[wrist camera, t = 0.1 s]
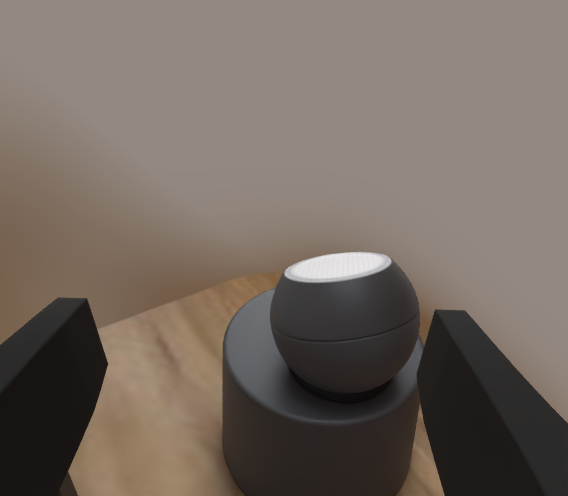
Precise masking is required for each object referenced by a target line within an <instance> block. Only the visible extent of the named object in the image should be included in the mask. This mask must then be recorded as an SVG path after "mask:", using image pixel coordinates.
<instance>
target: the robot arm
mask: <svg viewBox="0 0 568 496" xmlns="http://www.w3.org/2000/svg"><path fill="white" fill-rule="evenodd" d="M107 366H108V362H107V359H106V356H105V353H104V350H103V346H102V343H101V340H100V337H99V334H98V331H97V328H96V325H95V321H94V318H93V315H92V312H91V309H90V306H89V303H88V300H87V298H57V299H56V300H54V301H53V302H52V303H51V304H49V305H48V306H47V307H46V308H44V309H43V310H42V311H41V312H39V313H38V314H37V315H36V316H35V317H33V318H32V319H31V320H30V321H29V322H28V323H26V324H25V325H24V326H23V327H22V328H20V329H19V330H18V331H17V332H15V333H14V334H13V335H12V336H11V337H9V338H8V339H7V340H6V341H5V342H3V343H2V344H1V345H0V496H57V495H58V493H59V490H60V488H61V486H62V484H63V481H64V479H65V477H66V474H67V472H68V470H69V468H70V465H71V463H72V461H73V459H74V456H75V454H76V452H77V450H78V447H79V445H80V443H81V440H82V438H83V436H84V433H85V431H86V429H87V426H88V424H89V422H90V419H91V417H92V415H93V412H94V410H95V407H96V403H97V400H98V397H99V394H100V391H101V387H102V384H103V380H104V377H105V373H106V369H107ZM416 376H417V382H418V389H419V396H420V402H421V408H422V414H423V420H424V424H425V428H426V431H427V435H428V438H429V442H430V446H431V449H432V453H433V456H434V460H435V463H436V467H437V470H438V474H439V477H440V481H441V484H442V488H443V491H444V495H445V496H568V423H567V422H566V421H565V420H564V419H563V418H562V417H561V416H560V415H559V414H558V413H557V412H556V411H555V410H554V409H553V408H552V407H551V406H550V405H549V404H548V403H547V402H546V400H545V399H544V398H543V397H542V396H541V395H540V394H539V393H538V392H537V391H536V390H535V389H534V388H533V387H532V385H530V384H529V382H528V381H527V380H526V379H525V378H524V377H523V376H522V375H521V374H520V372H519V371H518V370H517V369H516V368H515V367H514V366H513V365H512V364H511V362H510V361H509V360H508V359H507V358H506V357H505V356H504V354H503V353H502V352H501V351H500V350H499V349H498V348H497V346H496V345H495V344H494V343H493V342H492V341H491V340H490V338H489V337H488V336H487V335H486V334H485V333H484V332H483V330H482V329H481V328H480V327H479V326H478V325H477V324H476V323H475V321H474V320H473V319H472V318H471V317H470V316H469V315H468V313H467V312H466V311H463V310H460V311H459V310H435V312H434V315H433V319H432V322H431V326H430V329H429V333H428V336H427V339H426V343H425V346H424V350H423V353H422V356H421V360H420V363H419V367H418V370H417V374H416Z"/></svg>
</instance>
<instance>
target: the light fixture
mask: <svg viewBox="0 0 568 496" xmlns="http://www.w3.org/2000/svg"><path fill="white" fill-rule="evenodd" d="M419 327H420V311H419V303H418V299H417V296H416V293H415V290H414V288H413V286H412V284H411V282H410V281H409V279H408V277H407V276H406V275H405V273H404V272H403V271H402V269H401V268H400V267H399V266H398V265H397V264H396V263H395V262H394V261H393V260H392V259H391V258H390V257H388V256H385V255H382V254H378V253H371V252H348V253H337V254H330V255H324V256H319V257H314V258H311V259H307V260H304V261H301V262H298V263H296V264H294V265H292V266H290V267H289V268H287V269H286V270H285V271H284V273H283V275H282V276H281V278H280V280H279V282H278V284H277V286H276V288H273V289H270V290H268V291H265V292H263V293H261V294H259V295H258V296H256V297H254V298H253V299H251V300H250V301H248V302H247V303H246V304H245V305H243V306H242V307H241V308H240V309H239V310H238V311H237V313H236V314H235V315H234V316H233V318H232V320H231V321H230V323H229V325H228V327H227V329H226V332H225V336H224V341H223V450H224V455H225V459H226V462H227V465H228V468H229V470H230V472H231V474H232V476H233V478H234V480H235V481H236V483H237V484H238V486H239V487H240V488H241V490H242V491H243V492H244V493H245V494H246V495H247V496H395V495H396V494H397V493H398V491H399V489H400V488H401V486H402V484H403V482H404V480H405V478H406V476H407V473H408V469H409V466H410V460H411V454H412V448H413V441H414V435H415V429H416V423H417V417H418V411H419V405H420V396H419V389H418V382H417V376H416V374H417V370H418V367H419V363H420V360H421V356H422V353H423V350H424V346H423V343H422V340H421V337H420V335H419Z"/></svg>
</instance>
